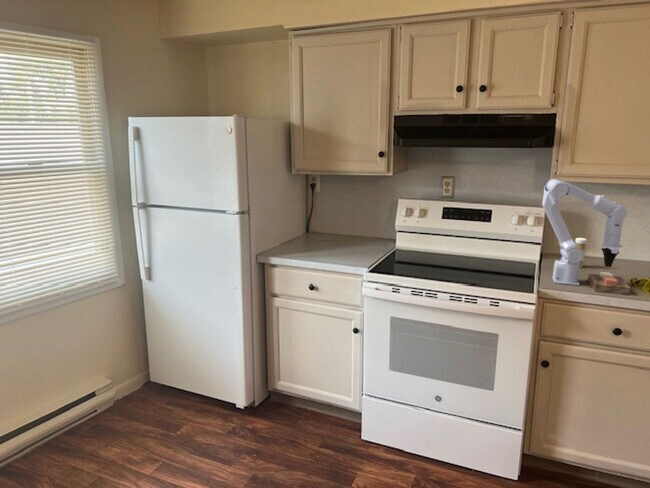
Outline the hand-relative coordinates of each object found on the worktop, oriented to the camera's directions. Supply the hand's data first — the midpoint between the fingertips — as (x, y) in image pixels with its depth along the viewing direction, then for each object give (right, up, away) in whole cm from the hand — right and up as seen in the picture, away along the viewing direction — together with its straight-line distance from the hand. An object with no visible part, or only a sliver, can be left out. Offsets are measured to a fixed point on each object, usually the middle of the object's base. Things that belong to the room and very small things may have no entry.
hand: (607, 266), depth 200 cm
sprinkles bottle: (+1, -2, +26) cm, 26 cm away
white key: (0, -6, +1) cm, 6 cm away
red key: (-2, -7, -5) cm, 9 cm away
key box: (-1, -9, -2) cm, 9 cm away
